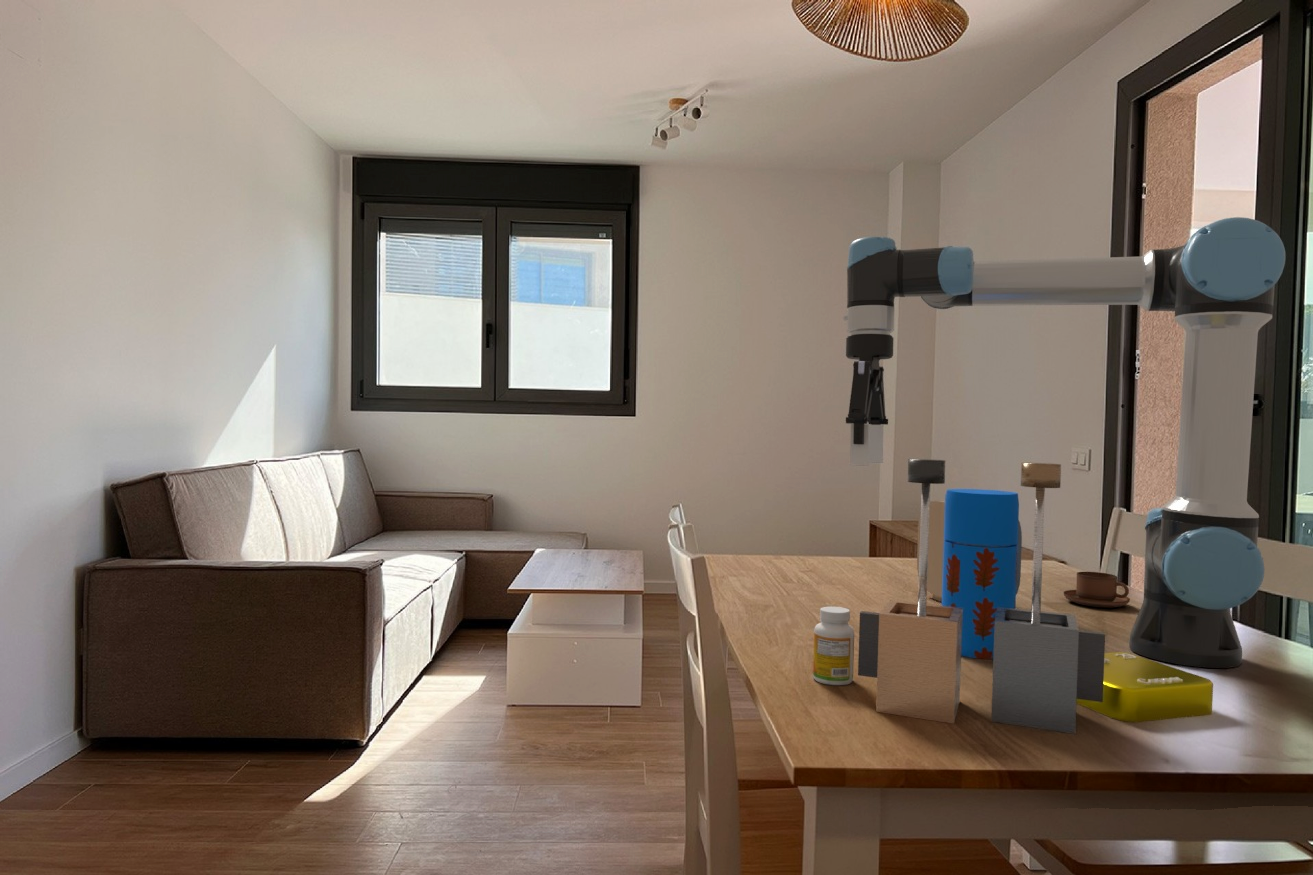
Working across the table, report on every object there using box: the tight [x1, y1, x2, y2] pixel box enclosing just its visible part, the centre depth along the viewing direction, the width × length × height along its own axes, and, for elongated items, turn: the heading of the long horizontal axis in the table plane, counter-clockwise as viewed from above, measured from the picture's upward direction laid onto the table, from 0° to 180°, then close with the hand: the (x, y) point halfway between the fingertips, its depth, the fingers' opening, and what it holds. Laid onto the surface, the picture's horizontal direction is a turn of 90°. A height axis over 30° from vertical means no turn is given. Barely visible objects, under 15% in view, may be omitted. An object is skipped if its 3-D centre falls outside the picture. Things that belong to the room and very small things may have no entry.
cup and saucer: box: [1063, 571, 1131, 609], centre depth 174 cm, size 12×12×6 cm
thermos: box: [941, 488, 1020, 660], centre depth 135 cm, size 11×11×25 cm
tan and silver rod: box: [1009, 462, 1062, 627], centre depth 105 cm, size 6×6×21 cm
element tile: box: [1076, 651, 1214, 723], centre depth 113 cm, size 15×15×5 cm
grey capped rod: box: [900, 458, 949, 620], centre depth 107 cm, size 6×6×21 cm
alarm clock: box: [916, 493, 1023, 603], centre depth 171 cm, size 21×10×22 cm, turn 15°
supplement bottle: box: [812, 606, 855, 686], centre depth 118 cm, size 5×5×10 cm
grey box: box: [991, 607, 1106, 735], centre depth 104 cm, size 12×9×12 cm
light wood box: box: [857, 599, 963, 724], centre depth 108 cm, size 12×9×12 cm
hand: (867, 464), depth 141 cm, fingers open, 13 cm apart
